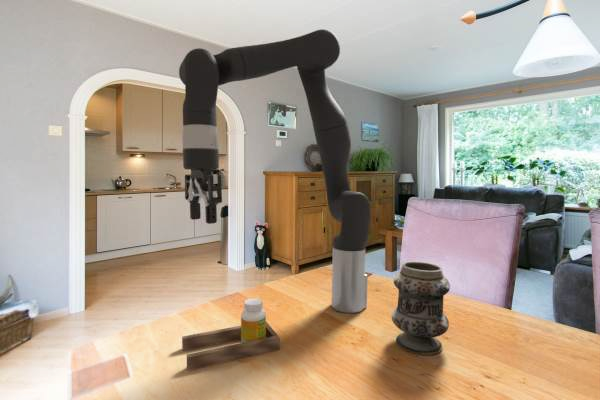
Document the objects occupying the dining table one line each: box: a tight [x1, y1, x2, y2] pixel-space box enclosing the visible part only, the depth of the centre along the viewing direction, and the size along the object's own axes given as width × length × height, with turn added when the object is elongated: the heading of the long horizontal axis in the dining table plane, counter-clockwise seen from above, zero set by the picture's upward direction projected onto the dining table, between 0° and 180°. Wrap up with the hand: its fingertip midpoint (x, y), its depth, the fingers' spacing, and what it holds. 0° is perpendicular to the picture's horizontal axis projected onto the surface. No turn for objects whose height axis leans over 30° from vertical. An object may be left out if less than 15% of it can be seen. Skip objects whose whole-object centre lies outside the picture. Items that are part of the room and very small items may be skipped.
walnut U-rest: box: [181, 321, 281, 372], centre depth 71 cm, size 19×9×3 cm, turn 116°
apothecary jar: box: [391, 260, 451, 356], centre depth 74 cm, size 12×12×18 cm
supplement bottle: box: [240, 297, 267, 343], centre depth 73 cm, size 5×5×10 cm
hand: (203, 221), depth 73 cm, fingers open, 8 cm apart
